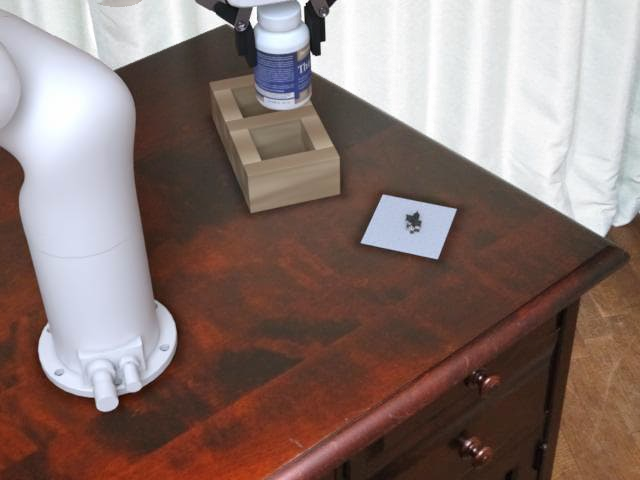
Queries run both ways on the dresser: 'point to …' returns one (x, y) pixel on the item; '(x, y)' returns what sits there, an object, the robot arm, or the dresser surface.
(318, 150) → the socket block
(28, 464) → the dresser surface
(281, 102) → the pill bottle
